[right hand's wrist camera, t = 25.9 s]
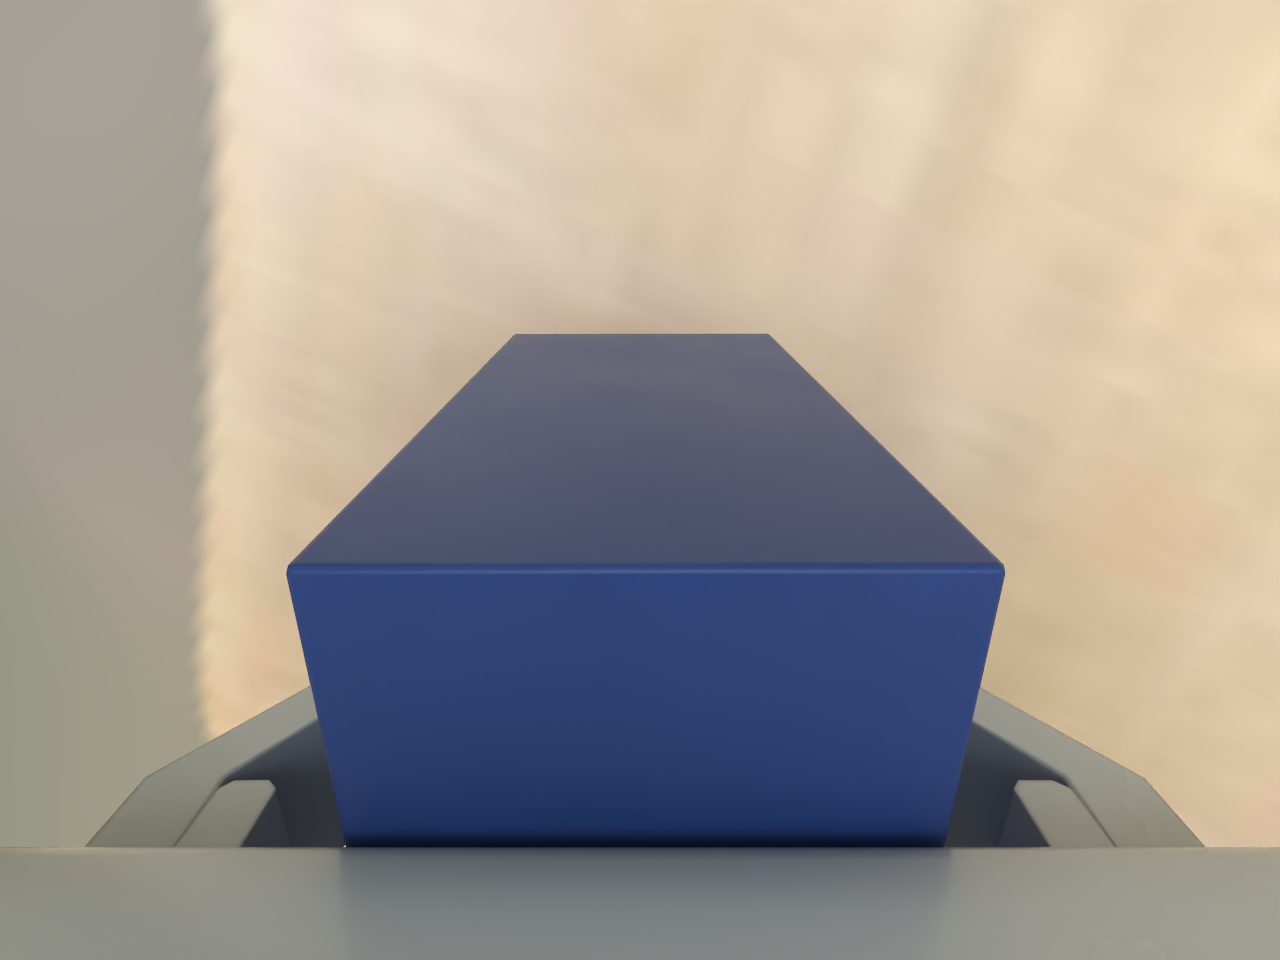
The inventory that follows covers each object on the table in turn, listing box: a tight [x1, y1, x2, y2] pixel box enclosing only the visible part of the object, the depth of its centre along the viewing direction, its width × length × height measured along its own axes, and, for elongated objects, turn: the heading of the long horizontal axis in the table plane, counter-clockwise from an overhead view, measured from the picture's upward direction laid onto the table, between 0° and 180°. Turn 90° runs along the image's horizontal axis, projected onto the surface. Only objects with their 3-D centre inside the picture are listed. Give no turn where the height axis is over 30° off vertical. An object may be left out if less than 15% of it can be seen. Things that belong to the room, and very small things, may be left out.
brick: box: [286, 334, 1005, 847], centre depth 10 cm, size 5×8×9 cm, turn 0°
